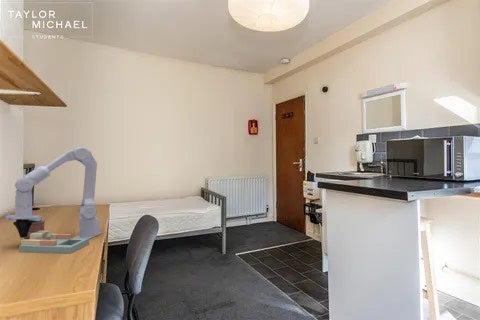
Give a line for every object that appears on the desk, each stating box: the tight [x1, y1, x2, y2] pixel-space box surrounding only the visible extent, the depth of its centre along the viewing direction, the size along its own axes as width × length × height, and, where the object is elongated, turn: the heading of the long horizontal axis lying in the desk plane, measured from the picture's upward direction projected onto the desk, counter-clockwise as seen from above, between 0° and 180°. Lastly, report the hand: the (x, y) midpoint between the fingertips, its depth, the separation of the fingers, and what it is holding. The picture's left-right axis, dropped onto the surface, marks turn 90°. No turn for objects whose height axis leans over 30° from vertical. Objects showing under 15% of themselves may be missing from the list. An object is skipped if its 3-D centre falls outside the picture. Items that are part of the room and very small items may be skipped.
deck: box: [18, 233, 90, 254], centre depth 114 cm, size 12×22×4 cm, turn 86°
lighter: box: [23, 216, 46, 240], centre depth 129 cm, size 8×3×10 cm, turn 141°
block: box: [29, 230, 51, 240], centre depth 115 cm, size 5×5×4 cm
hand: (23, 236), depth 115 cm, fingers closed
